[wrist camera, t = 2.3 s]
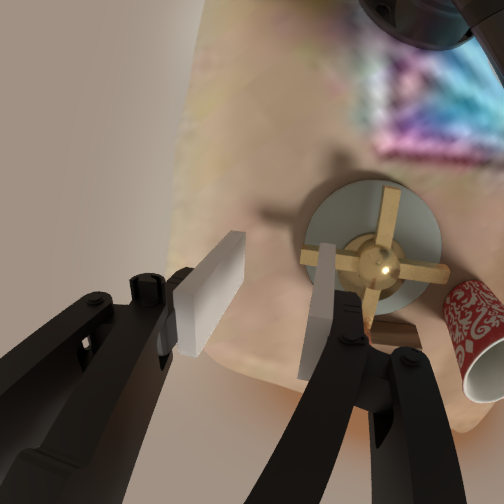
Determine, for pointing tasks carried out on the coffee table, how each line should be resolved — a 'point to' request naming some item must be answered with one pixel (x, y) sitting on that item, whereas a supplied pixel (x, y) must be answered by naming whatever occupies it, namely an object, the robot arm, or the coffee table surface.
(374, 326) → the brown angular block
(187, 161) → the coffee table surface
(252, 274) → the coffee table surface
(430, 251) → the stand plate
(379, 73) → the coffee table surface
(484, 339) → the mug
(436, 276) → the cam capstan
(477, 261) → the coffee table surface
